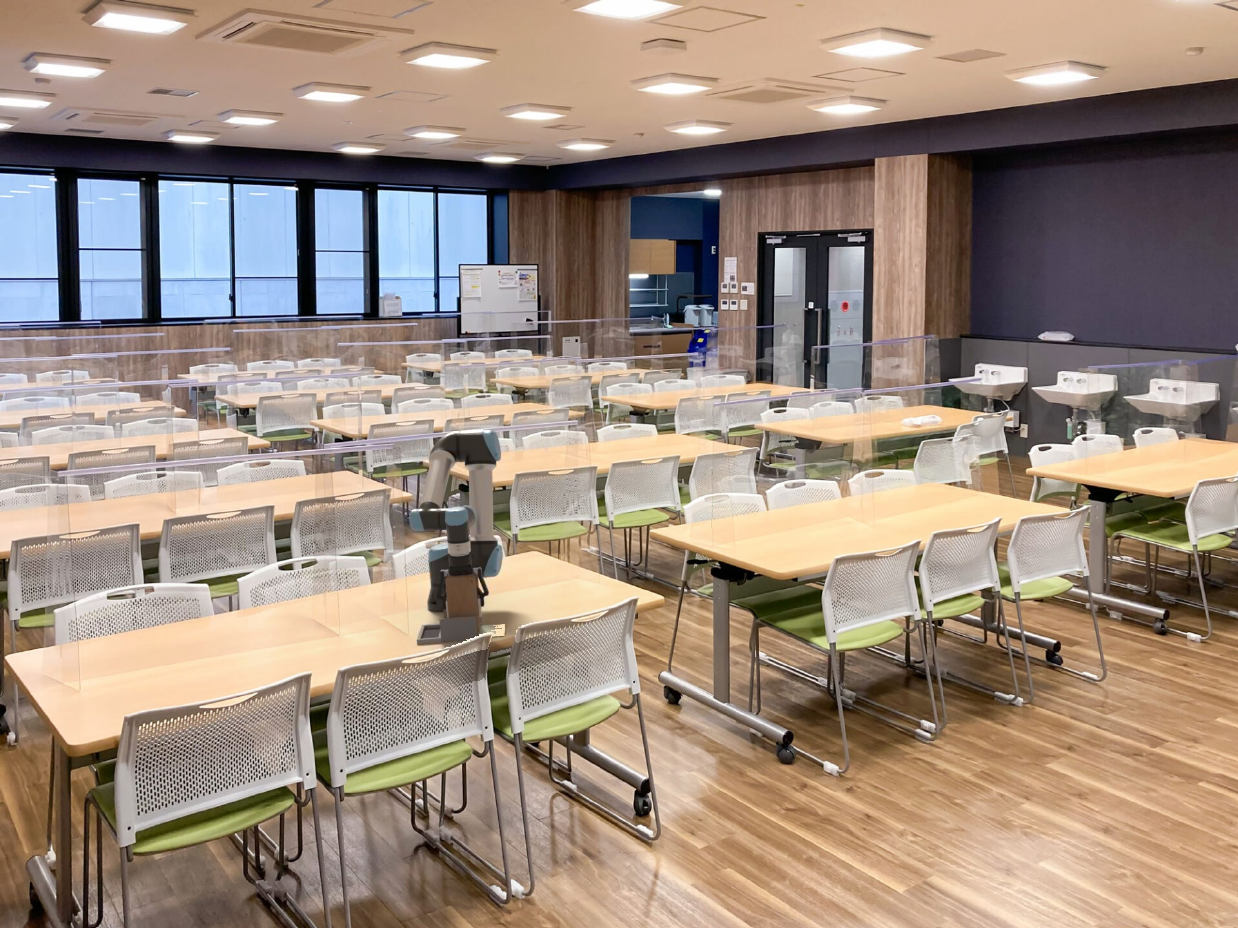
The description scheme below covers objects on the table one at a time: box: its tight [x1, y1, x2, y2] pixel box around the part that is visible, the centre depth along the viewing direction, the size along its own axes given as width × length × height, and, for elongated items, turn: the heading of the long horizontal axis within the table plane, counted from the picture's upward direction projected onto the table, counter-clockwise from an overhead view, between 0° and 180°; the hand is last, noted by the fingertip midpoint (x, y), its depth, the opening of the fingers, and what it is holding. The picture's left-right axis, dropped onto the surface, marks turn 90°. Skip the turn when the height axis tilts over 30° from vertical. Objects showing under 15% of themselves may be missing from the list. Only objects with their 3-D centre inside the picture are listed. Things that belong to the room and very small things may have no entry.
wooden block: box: [445, 571, 483, 634], centre depth 396 cm, size 10×10×20 cm
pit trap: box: [416, 623, 442, 645], centre depth 396 cm, size 16×8×2 cm, turn 4°
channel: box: [438, 609, 478, 643], centre depth 396 cm, size 16×12×8 cm
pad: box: [477, 623, 502, 636], centre depth 398 cm, size 13×9×1 cm
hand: (464, 616), depth 396 cm, fingers closed on wooden block, 10 cm apart
